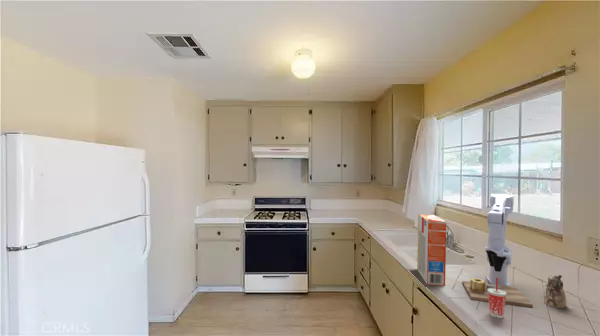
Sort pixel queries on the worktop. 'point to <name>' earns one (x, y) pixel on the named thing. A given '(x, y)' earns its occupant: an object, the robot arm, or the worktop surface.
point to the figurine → (555, 292)
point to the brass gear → (477, 284)
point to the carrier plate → (509, 296)
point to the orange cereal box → (431, 249)
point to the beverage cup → (496, 301)
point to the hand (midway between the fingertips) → (495, 268)
